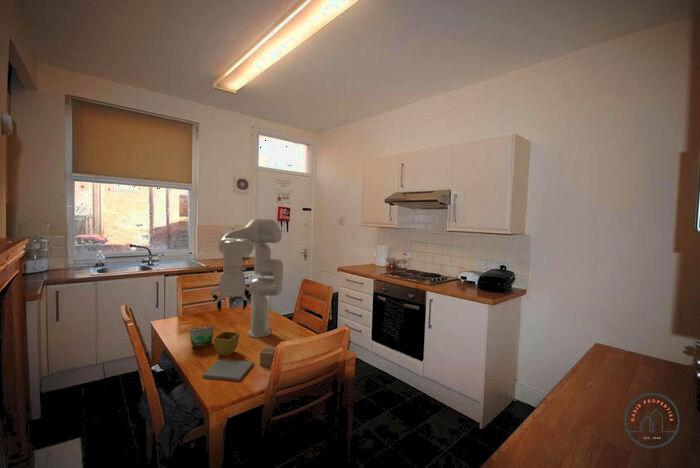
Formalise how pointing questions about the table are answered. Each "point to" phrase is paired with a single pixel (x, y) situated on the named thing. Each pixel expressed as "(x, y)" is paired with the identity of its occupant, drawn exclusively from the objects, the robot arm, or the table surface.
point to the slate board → (228, 369)
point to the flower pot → (226, 342)
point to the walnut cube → (267, 356)
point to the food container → (201, 337)
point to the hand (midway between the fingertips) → (232, 309)
